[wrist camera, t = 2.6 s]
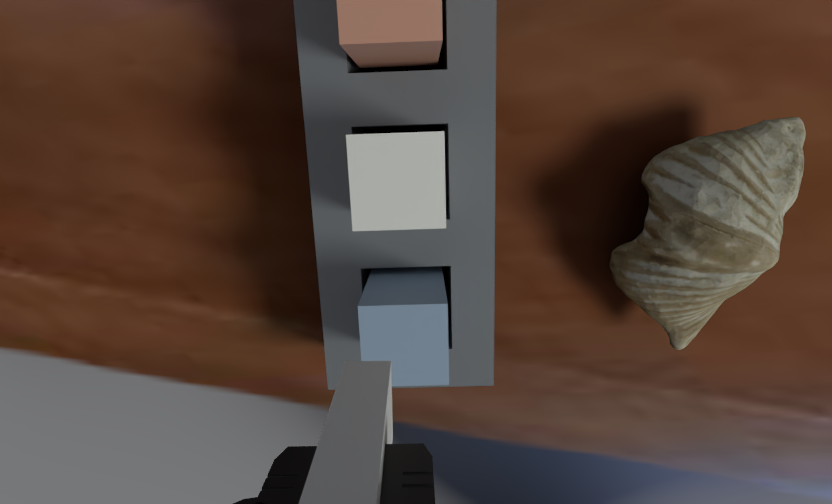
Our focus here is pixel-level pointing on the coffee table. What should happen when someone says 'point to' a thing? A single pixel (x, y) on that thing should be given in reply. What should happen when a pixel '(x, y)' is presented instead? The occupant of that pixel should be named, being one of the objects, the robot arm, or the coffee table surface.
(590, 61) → the coffee table surface
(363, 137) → the white key
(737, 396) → the coffee table surface
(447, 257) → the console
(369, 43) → the salmon brown block
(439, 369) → the blue key
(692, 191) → the seashell
